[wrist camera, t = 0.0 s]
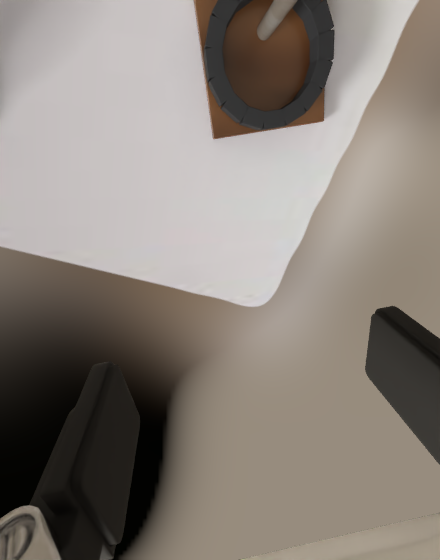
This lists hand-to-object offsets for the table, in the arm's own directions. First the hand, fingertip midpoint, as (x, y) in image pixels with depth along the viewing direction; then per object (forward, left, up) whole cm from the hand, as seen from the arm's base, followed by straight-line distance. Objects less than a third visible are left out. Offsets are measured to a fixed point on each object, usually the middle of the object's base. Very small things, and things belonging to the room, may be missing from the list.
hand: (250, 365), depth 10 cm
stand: (-15, +10, -31) cm, 36 cm away
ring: (-15, +10, -30) cm, 35 cm away
